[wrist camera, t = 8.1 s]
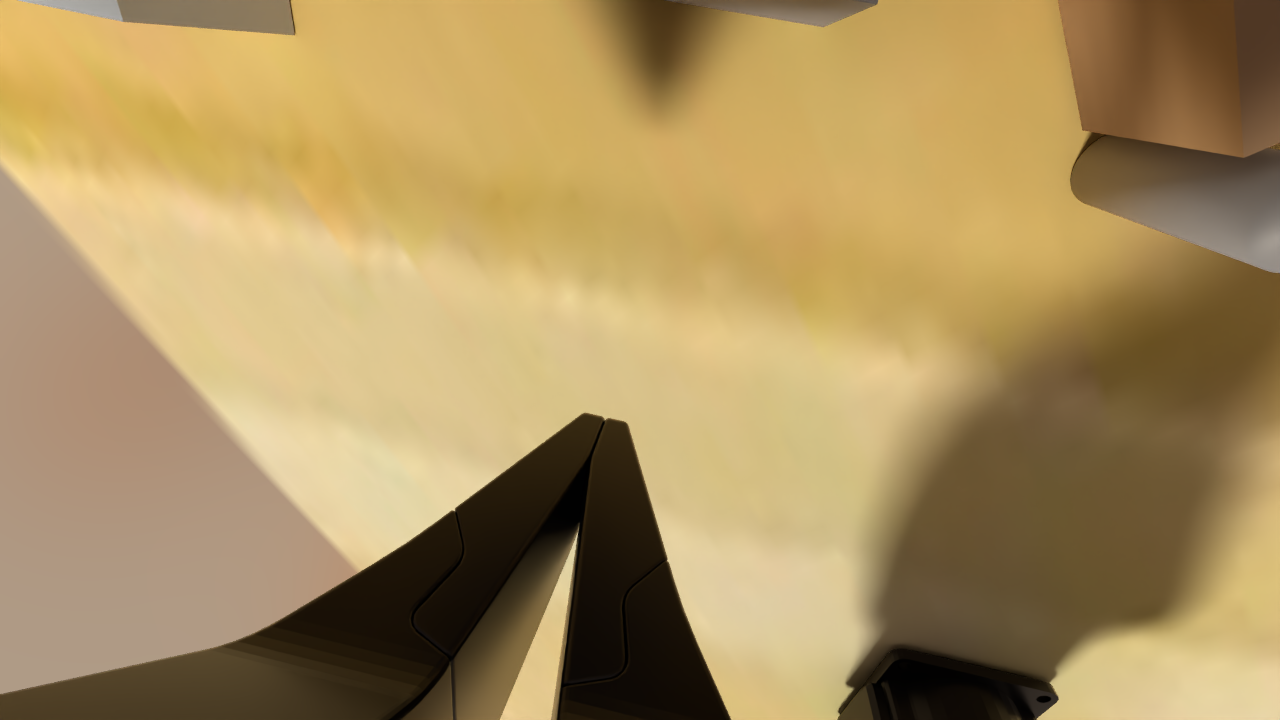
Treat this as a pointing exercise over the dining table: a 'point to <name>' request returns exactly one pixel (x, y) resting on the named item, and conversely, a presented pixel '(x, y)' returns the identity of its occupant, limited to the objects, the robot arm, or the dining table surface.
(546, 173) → the dining table surface
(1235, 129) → the door
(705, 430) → the dining table surface
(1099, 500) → the dining table surface
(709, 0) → the doorstop
